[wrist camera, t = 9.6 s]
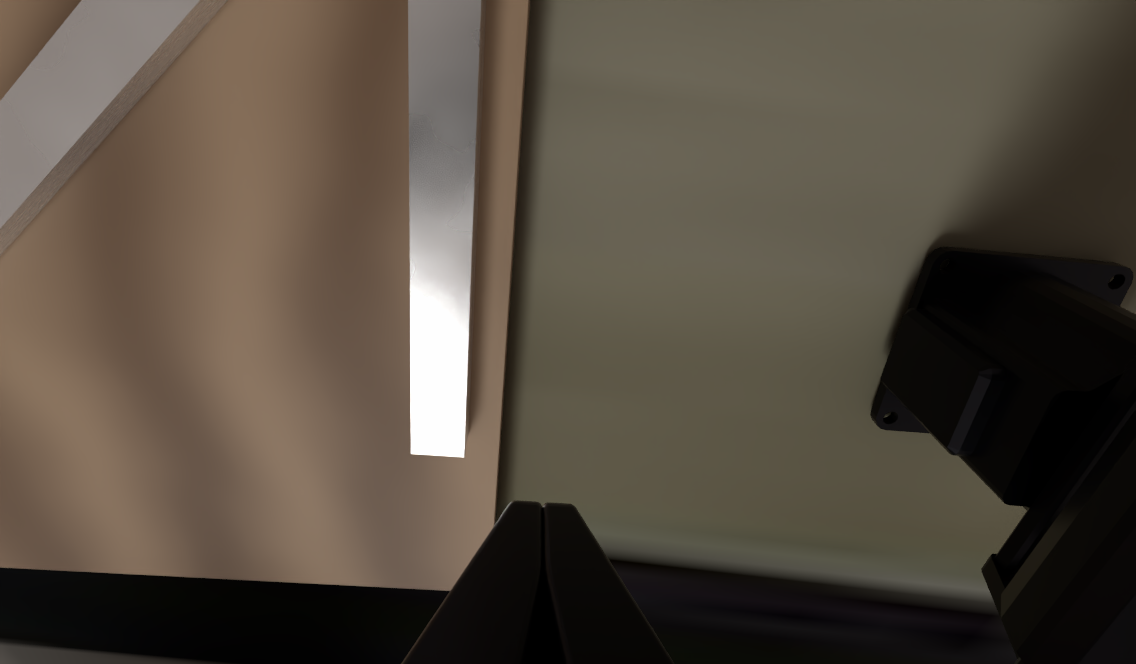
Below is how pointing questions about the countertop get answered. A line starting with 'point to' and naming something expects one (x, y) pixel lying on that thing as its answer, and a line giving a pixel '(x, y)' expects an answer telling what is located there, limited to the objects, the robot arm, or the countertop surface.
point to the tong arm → (84, 93)
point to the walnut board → (250, 314)
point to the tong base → (443, 215)
